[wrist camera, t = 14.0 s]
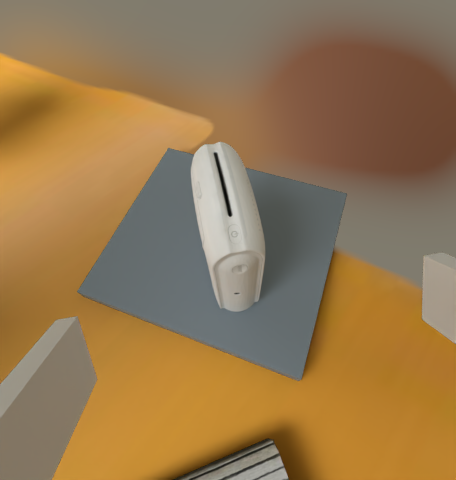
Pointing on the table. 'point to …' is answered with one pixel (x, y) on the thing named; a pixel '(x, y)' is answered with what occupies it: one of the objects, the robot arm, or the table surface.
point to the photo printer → (228, 225)
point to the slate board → (197, 272)
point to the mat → (244, 465)
